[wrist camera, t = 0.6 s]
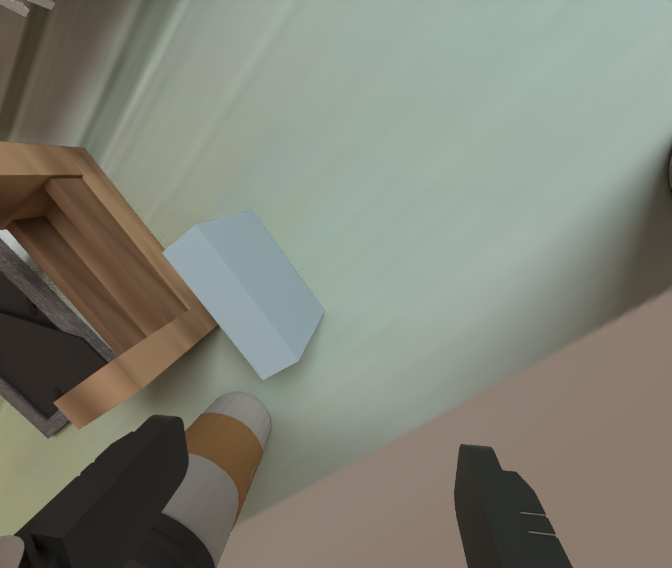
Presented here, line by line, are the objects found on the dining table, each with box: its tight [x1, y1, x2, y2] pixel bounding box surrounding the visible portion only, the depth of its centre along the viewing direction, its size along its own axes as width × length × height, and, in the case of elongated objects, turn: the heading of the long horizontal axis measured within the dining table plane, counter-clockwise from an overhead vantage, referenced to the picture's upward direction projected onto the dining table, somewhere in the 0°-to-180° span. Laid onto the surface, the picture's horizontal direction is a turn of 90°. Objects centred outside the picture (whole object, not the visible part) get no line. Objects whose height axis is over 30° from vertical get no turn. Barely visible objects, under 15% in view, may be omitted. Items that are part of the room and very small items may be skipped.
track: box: [0, 141, 219, 429], centre depth 25 cm, size 7×18×10 cm, turn 35°
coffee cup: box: [124, 392, 271, 568], centre depth 26 cm, size 8×8×15 cm
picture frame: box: [0, 238, 118, 438], centre depth 34 cm, size 16×2×21 cm
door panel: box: [162, 210, 325, 380], centre depth 24 cm, size 4×10×8 cm, turn 35°
